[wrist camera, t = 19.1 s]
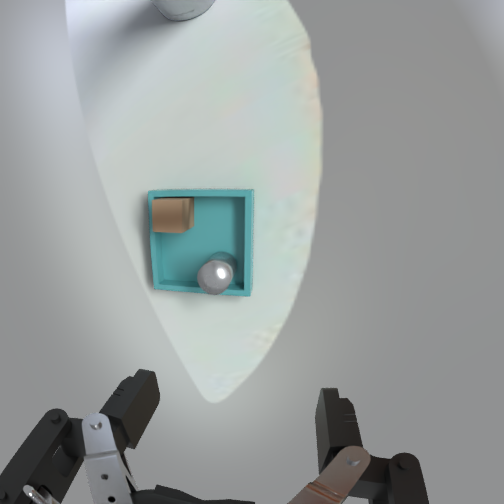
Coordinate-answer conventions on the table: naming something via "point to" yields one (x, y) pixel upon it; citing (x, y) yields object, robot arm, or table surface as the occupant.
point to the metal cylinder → (217, 273)
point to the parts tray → (205, 239)
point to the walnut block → (173, 214)
